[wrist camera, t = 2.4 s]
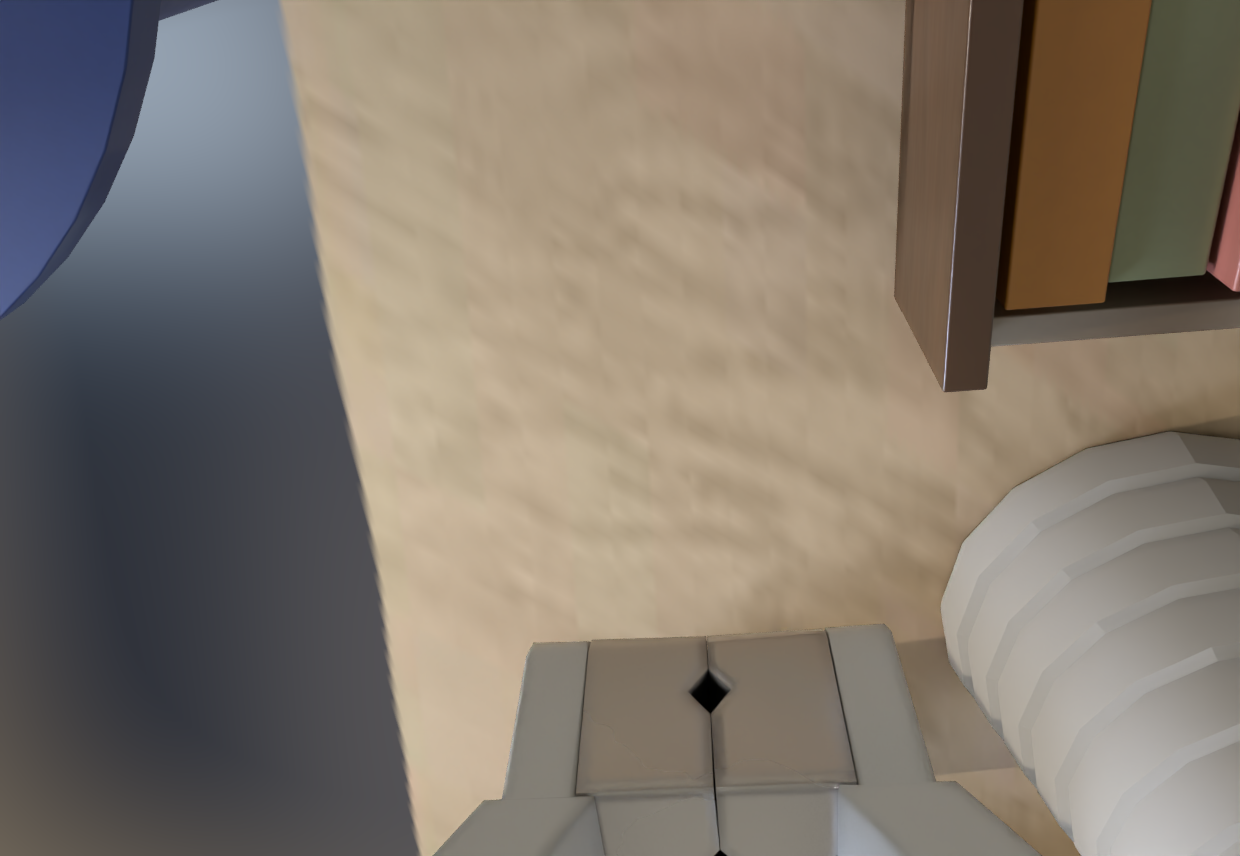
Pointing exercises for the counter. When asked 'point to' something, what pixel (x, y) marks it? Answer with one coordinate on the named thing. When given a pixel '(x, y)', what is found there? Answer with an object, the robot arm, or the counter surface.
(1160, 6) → the tray
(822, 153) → the counter surface
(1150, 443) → the soap bottle
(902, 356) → the counter surface
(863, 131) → the counter surface
